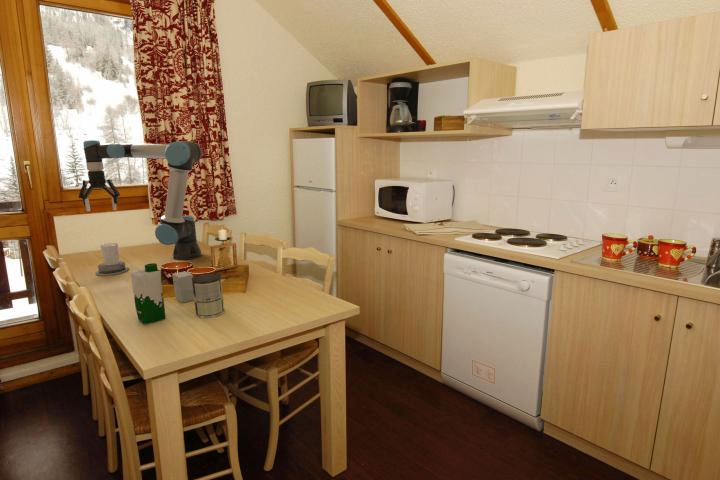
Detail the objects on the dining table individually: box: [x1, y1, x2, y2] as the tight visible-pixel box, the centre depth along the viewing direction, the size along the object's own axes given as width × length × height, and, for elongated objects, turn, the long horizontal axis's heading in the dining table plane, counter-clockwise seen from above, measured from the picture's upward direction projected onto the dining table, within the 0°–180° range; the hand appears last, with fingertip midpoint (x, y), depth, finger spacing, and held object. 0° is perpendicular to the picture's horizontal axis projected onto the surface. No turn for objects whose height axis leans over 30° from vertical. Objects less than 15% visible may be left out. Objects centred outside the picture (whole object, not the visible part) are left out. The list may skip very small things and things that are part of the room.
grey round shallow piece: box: [95, 260, 130, 277], centre depth 229 cm, size 15×15×4 cm
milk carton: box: [130, 262, 166, 325], centre depth 161 cm, size 9×9×20 cm
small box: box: [171, 271, 194, 303], centre depth 183 cm, size 8×6×10 cm
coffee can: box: [192, 272, 226, 319], centre depth 167 cm, size 10×10×14 cm
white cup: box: [99, 242, 120, 265], centre depth 228 cm, size 8×8×10 cm
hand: (101, 210), depth 242 cm, fingers open, 13 cm apart
